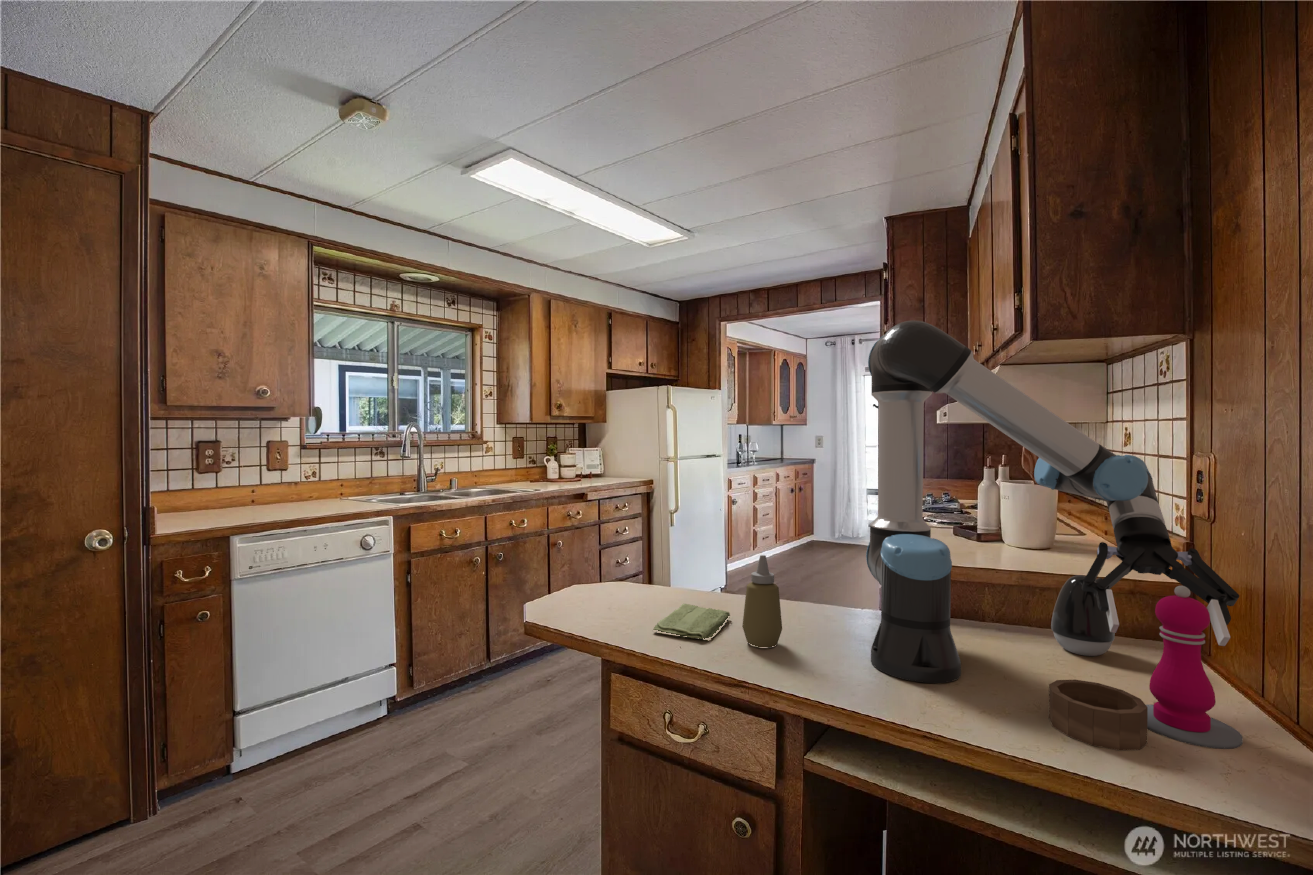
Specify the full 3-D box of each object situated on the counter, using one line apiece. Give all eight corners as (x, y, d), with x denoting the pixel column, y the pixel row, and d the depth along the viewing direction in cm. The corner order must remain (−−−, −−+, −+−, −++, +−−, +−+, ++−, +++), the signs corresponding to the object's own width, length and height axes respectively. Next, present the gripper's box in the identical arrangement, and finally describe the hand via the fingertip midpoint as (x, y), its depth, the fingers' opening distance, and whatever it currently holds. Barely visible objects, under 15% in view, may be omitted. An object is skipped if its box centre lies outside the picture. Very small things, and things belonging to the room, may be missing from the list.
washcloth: (650, 636, 124) (650, 621, 124) (682, 614, 140) (682, 600, 140) (708, 646, 118) (708, 630, 118) (734, 622, 134) (734, 608, 134)
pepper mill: (1228, 737, 81) (1229, 593, 81) (1168, 731, 83) (1169, 590, 83) (1193, 713, 88) (1193, 581, 88) (1138, 708, 90) (1139, 578, 90)
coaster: (1119, 721, 87) (1119, 717, 87) (1146, 701, 94) (1146, 698, 94) (1230, 758, 77) (1230, 753, 77) (1251, 732, 84) (1252, 728, 84)
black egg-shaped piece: (1128, 658, 113) (1128, 579, 113) (1088, 663, 110) (1088, 582, 110) (1077, 640, 123) (1077, 568, 123) (1038, 645, 120) (1039, 571, 120)
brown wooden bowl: (1036, 724, 86) (1036, 690, 86) (1067, 705, 92) (1068, 674, 92) (1129, 758, 77) (1129, 720, 77) (1156, 735, 83) (1157, 700, 83)
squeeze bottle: (737, 648, 116) (738, 557, 116) (747, 635, 124) (747, 550, 124) (778, 654, 113) (779, 561, 113) (785, 640, 120) (786, 553, 121)
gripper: (1222, 545, 103) (1265, 659, 90) (1054, 534, 114) (1069, 634, 100) (1237, 519, 98) (1284, 635, 85) (1059, 510, 109) (1076, 611, 96)
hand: (1167, 635), depth 93 cm, fingers open, 13 cm apart
